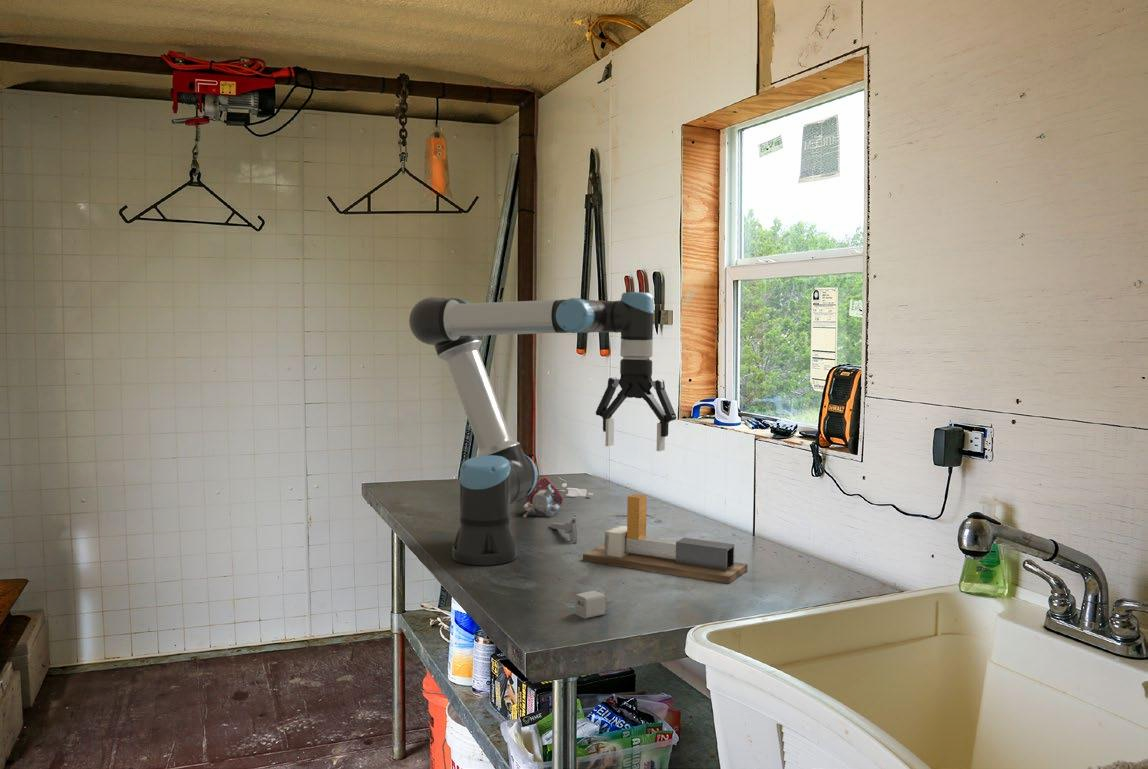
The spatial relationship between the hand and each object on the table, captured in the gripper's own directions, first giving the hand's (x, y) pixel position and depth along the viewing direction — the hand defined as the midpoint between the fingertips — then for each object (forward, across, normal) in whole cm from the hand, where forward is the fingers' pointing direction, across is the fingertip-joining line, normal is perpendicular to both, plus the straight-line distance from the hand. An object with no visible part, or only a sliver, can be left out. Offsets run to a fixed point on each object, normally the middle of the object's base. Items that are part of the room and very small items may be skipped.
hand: (634, 448), depth 212 cm
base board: (+26, -10, +2) cm, 28 cm away
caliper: (+27, +26, -10) cm, 39 cm away
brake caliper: (+27, +44, -28) cm, 59 cm away
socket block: (+25, +2, +3) cm, 25 cm away
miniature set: (+27, +63, -55) cm, 88 cm away
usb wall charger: (+26, -14, +41) cm, 51 cm away
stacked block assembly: (+24, -8, +3) cm, 25 cm away
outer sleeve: (+25, -19, +2) cm, 31 cm away
